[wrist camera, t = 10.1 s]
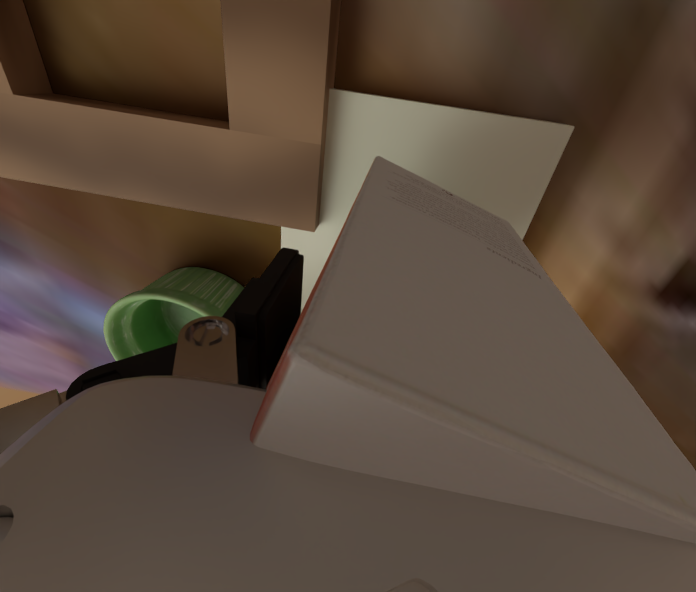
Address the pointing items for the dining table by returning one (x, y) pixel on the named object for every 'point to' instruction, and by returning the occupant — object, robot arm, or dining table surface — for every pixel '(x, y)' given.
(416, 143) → the cream square tile
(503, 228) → the small box
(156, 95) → the dining table surface
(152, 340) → the ramekin
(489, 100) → the dining table surface
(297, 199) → the holder block
